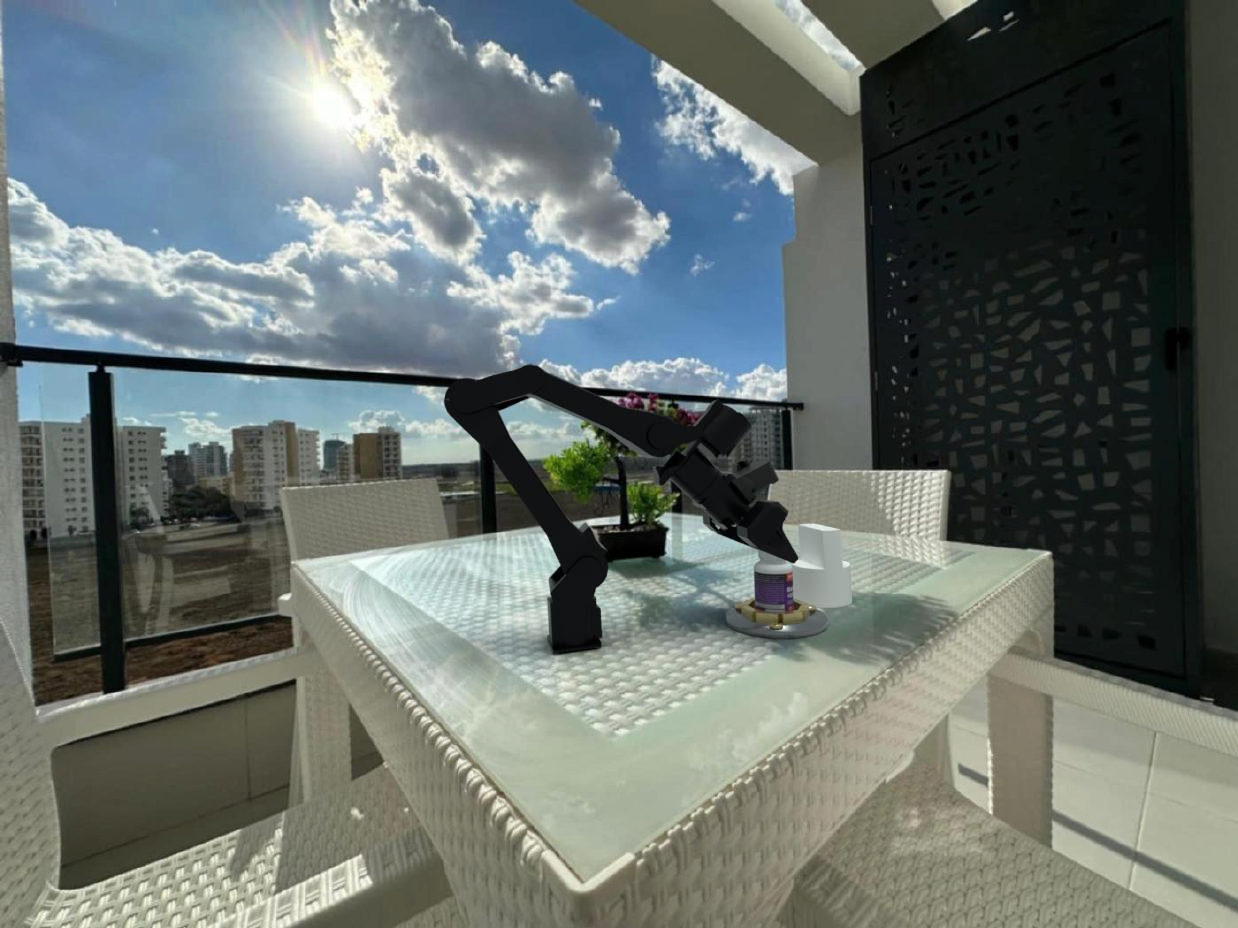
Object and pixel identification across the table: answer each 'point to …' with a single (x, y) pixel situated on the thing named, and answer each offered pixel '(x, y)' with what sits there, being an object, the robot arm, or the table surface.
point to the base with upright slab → (821, 568)
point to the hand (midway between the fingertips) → (781, 555)
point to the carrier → (777, 621)
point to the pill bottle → (773, 584)
